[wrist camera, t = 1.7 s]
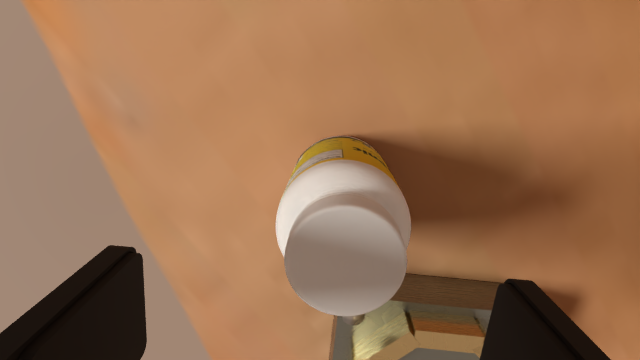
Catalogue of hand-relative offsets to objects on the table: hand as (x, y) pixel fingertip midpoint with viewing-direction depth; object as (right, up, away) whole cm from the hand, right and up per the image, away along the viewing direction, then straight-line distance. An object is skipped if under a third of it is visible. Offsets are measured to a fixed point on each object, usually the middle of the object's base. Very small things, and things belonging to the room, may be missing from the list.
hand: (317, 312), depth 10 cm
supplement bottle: (+1, +4, +12) cm, 12 cm away
